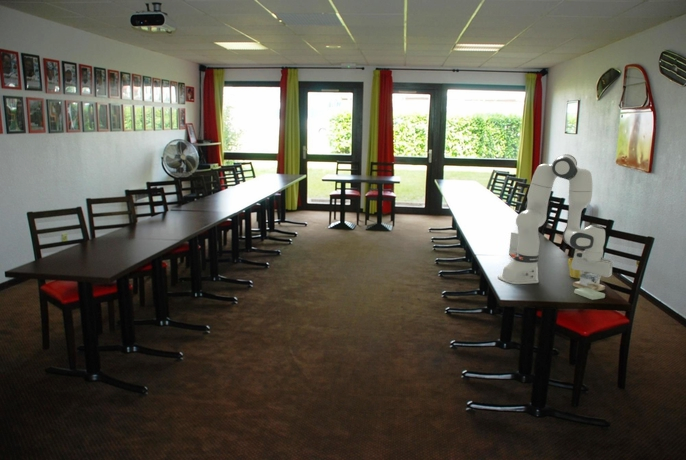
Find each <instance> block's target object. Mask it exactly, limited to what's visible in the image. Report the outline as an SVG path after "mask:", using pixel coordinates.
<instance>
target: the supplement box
mask: <svg viewBox="0 0 686 460" xmlns="http://www.w3.org/2000/svg"><path fill="white" fill-rule="evenodd" d="M509 240H510V241H509V242H510V243H509V251H508V255H509V256H511V254H516V252H517V248H518V230H512V231H511V232H510V239H509Z"/></svg>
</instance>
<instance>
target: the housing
mask: <svg viewBox="0 0 686 460" xmlns="http://www.w3.org/2000/svg"><path fill="white" fill-rule="evenodd" d="M597 278H598V277H597V275H596V274H592V273H584V274H581V277H580V278H579V284H581V285H584V286H592V285H598V284H600V280H601V278H600V279H599V280H598V283H594V279H597Z"/></svg>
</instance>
